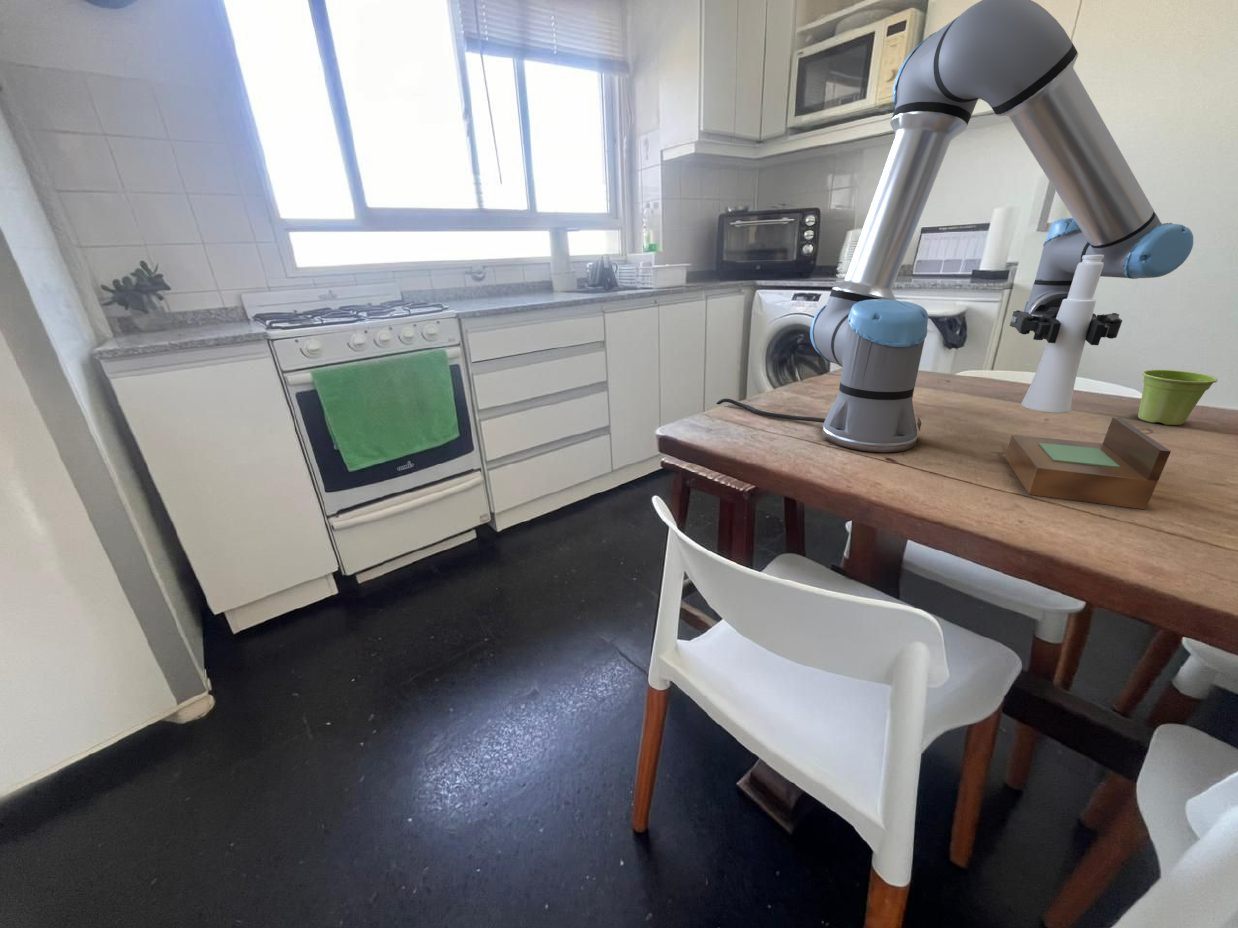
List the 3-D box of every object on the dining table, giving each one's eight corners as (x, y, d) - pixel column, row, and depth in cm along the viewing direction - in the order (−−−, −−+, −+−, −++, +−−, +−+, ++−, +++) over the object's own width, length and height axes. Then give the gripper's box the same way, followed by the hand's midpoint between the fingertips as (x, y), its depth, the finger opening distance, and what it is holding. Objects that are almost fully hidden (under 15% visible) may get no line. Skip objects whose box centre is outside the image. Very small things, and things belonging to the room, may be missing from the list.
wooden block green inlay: (1028, 494, 67) (1046, 439, 64) (1004, 458, 79) (1019, 410, 76) (1145, 509, 62) (1171, 451, 59) (1102, 468, 74) (1121, 417, 71)
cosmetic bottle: (1081, 411, 74) (1136, 254, 66) (1047, 415, 73) (1099, 255, 65) (1042, 401, 80) (1088, 254, 71) (1010, 404, 79) (1053, 255, 70)
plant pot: (1213, 428, 88) (1235, 380, 85) (1159, 429, 88) (1179, 382, 85) (1161, 412, 97) (1179, 369, 93) (1112, 414, 97) (1128, 370, 94)
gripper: (1115, 340, 83) (1150, 366, 65) (991, 335, 91) (993, 356, 74) (1131, 293, 80) (1174, 307, 62) (1002, 292, 89) (1007, 304, 71)
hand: (1076, 334), depth 68 cm, fingers closed on cosmetic bottle, 4 cm apart
